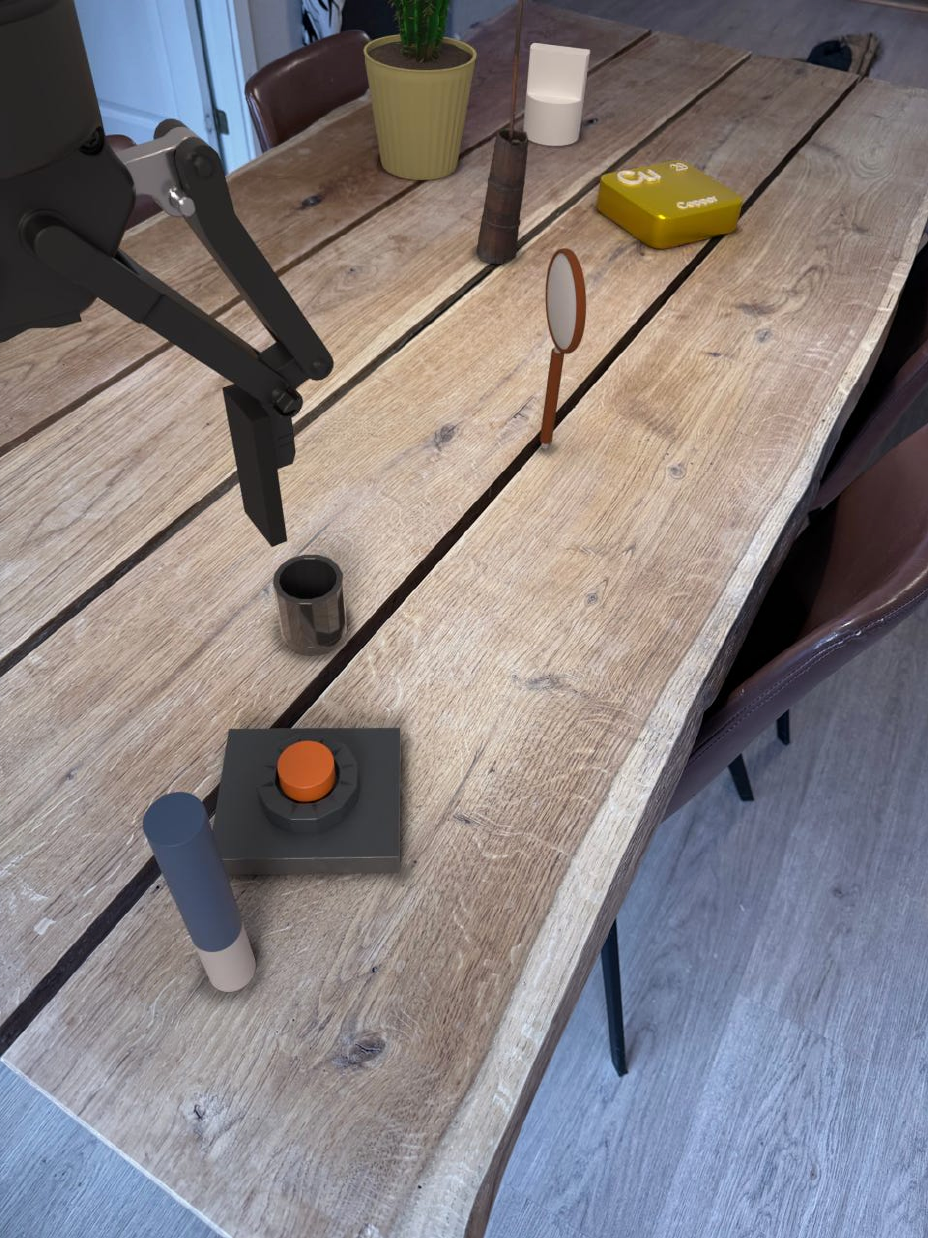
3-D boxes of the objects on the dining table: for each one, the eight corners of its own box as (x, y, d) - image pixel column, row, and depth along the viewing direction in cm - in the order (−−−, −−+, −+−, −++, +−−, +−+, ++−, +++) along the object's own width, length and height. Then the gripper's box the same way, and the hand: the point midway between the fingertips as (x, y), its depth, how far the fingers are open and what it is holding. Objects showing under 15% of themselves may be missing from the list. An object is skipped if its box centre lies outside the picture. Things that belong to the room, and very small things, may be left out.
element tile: (654, 252, 119) (662, 215, 115) (590, 206, 127) (595, 170, 124) (741, 231, 124) (751, 195, 121) (674, 188, 133) (681, 153, 129)
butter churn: (531, 281, 112) (559, 19, 91) (456, 271, 113) (467, 9, 92) (540, 247, 118) (568, -6, 97) (468, 238, 119) (481, -14, 98)
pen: (205, 993, 53) (136, 846, 40) (212, 946, 55) (148, 791, 42) (252, 992, 54) (200, 846, 40) (258, 945, 55) (210, 791, 42)
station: (213, 876, 58) (202, 846, 55) (233, 746, 65) (224, 713, 62) (399, 873, 59) (398, 843, 56) (400, 744, 66) (400, 712, 63)
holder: (278, 655, 71) (269, 603, 66) (284, 606, 74) (276, 554, 70) (345, 655, 71) (341, 603, 67) (348, 606, 74) (344, 554, 70)
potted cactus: (485, 154, 138) (500, -92, 115) (448, 194, 128) (456, -68, 106) (393, 136, 141) (389, -108, 119) (349, 173, 131) (337, -85, 109)
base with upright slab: (582, 128, 147) (593, 43, 138) (574, 148, 141) (585, 62, 132) (528, 120, 148) (535, 36, 139) (517, 141, 142) (524, 54, 133)
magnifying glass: (524, 423, 92) (546, 230, 78) (540, 422, 93) (566, 229, 78) (548, 476, 87) (577, 279, 72) (565, 474, 87) (597, 278, 72)
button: (277, 802, 58) (274, 788, 57) (282, 755, 60) (280, 740, 59) (334, 802, 58) (332, 787, 57) (337, 754, 61) (335, 740, 59)
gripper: (-895, 100, 14) (-212, 796, 30) (425, -52, 24) (419, 529, 40) (-809, -21, 18) (-245, 650, 34) (296, -109, 28) (337, 440, 44)
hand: (115, 585), depth 37 cm, fingers open, 13 cm apart
